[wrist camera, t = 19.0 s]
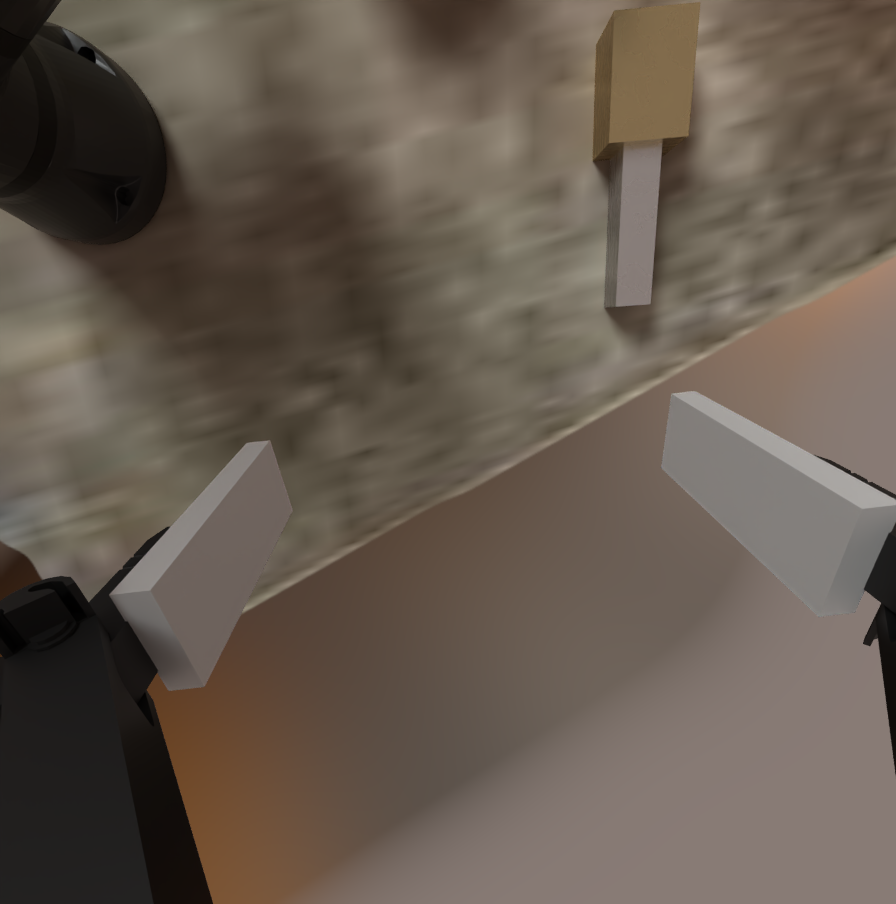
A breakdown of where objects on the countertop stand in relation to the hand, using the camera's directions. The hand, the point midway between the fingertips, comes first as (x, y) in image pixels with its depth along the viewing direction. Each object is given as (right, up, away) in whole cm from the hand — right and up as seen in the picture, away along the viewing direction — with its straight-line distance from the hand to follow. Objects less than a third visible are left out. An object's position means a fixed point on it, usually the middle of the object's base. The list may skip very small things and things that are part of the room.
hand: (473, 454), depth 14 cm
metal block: (+15, +22, +23) cm, 35 cm away
